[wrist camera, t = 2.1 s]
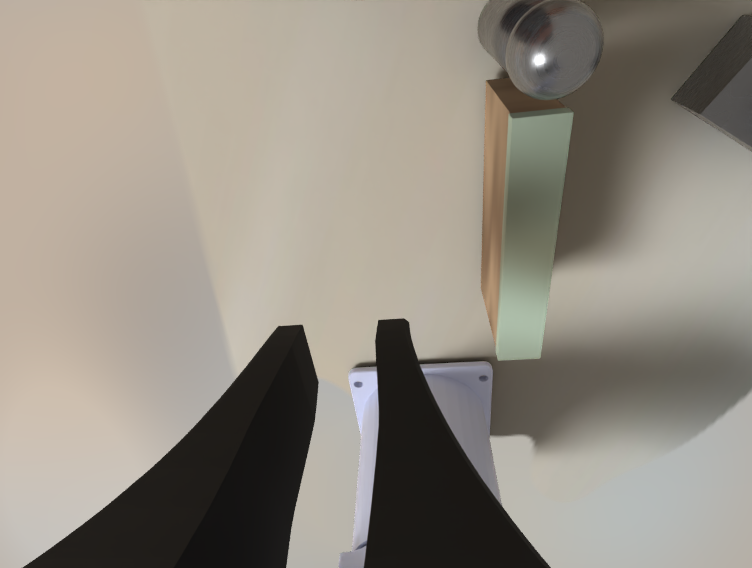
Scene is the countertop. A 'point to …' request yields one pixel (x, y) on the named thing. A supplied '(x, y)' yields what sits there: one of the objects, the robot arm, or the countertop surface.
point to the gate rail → (521, 213)
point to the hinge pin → (543, 43)
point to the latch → (724, 85)
